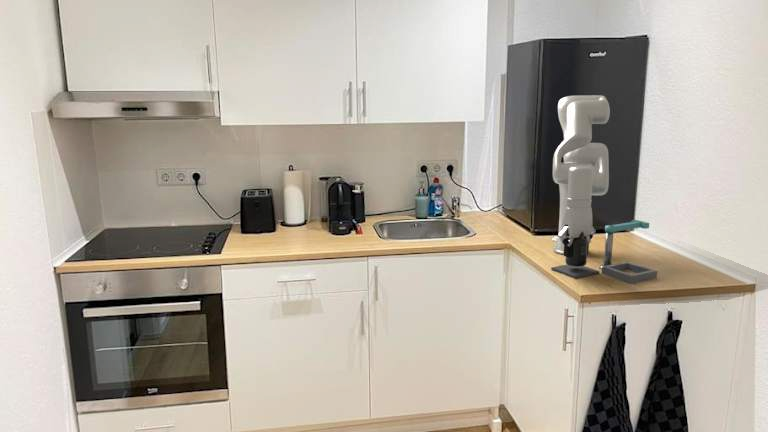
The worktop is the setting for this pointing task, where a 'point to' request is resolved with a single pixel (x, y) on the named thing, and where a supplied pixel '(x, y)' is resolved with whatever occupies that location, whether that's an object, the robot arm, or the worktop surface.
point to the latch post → (608, 250)
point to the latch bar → (626, 226)
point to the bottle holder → (617, 272)
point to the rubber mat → (575, 271)
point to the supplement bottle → (578, 251)
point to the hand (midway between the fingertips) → (575, 254)
